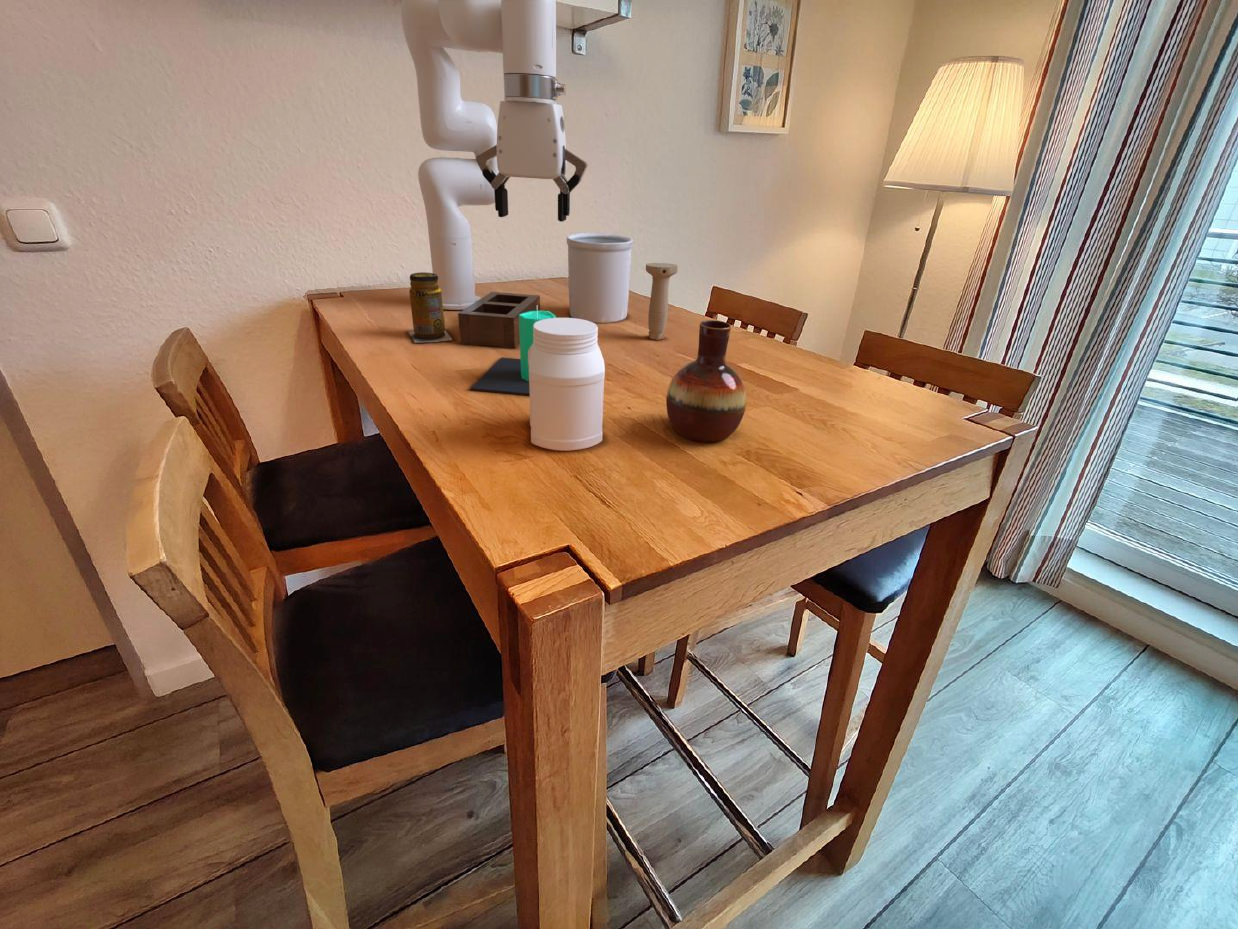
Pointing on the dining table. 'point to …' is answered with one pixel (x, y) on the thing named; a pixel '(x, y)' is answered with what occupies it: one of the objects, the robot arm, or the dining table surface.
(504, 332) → the holder
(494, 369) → the mat
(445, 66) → the robot arm
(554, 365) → the jar
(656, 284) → the handle
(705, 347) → the vase
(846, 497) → the dining table surface
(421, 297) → the condiment
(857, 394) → the dining table surface
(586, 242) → the utensil holder
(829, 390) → the dining table surface
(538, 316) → the candle
